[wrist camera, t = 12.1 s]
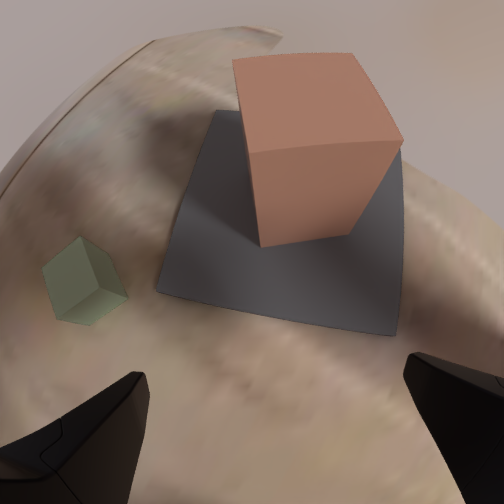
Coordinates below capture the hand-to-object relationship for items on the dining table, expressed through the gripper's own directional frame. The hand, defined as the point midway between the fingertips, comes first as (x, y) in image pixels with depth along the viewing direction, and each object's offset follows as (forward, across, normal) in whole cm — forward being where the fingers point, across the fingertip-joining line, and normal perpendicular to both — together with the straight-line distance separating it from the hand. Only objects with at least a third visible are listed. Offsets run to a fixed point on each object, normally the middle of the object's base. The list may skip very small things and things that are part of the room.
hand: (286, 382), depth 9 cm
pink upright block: (+13, -3, -5) cm, 14 cm away
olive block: (+12, +12, +1) cm, 17 cm away
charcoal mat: (+13, -3, -5) cm, 14 cm away
